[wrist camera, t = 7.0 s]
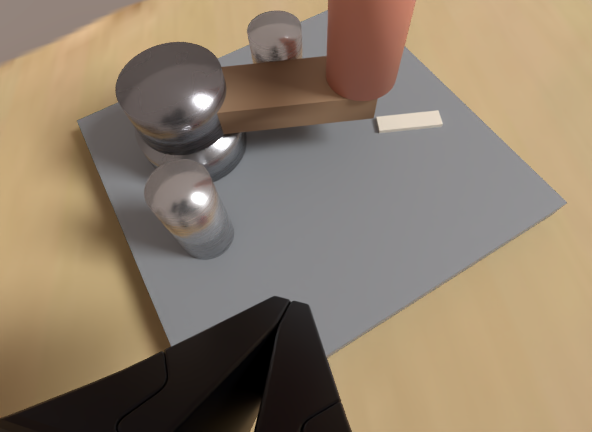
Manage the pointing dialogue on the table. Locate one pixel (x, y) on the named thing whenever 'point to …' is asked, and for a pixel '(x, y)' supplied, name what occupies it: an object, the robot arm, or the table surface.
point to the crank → (266, 82)
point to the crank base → (317, 201)
